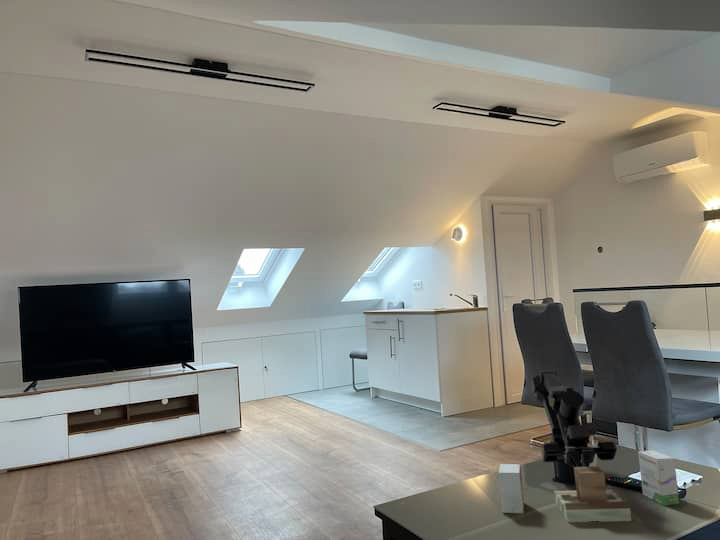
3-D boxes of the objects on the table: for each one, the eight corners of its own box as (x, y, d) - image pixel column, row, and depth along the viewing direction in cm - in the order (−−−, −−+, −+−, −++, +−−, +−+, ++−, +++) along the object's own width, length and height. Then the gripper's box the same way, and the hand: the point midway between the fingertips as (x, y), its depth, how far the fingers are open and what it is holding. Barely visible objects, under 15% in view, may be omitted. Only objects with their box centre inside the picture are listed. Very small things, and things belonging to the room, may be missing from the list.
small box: (523, 514, 136) (519, 473, 137) (501, 513, 138) (497, 472, 138) (524, 502, 144) (520, 463, 144) (503, 501, 145) (499, 463, 146)
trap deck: (555, 502, 142) (553, 485, 142) (613, 501, 140) (611, 483, 140) (567, 522, 129) (565, 503, 130) (631, 521, 127) (629, 502, 128)
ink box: (680, 504, 135) (675, 457, 136) (663, 506, 135) (657, 459, 135) (658, 492, 144) (653, 449, 144) (642, 494, 143) (637, 450, 144)
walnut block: (577, 498, 136) (573, 467, 137) (601, 497, 135) (597, 466, 136) (582, 505, 131) (579, 473, 132) (607, 505, 130) (604, 472, 131)
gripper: (539, 413, 144) (552, 466, 132) (610, 410, 142) (630, 463, 130) (536, 435, 151) (549, 487, 139) (604, 433, 149) (622, 485, 137)
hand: (587, 481), depth 136 cm, fingers closed
